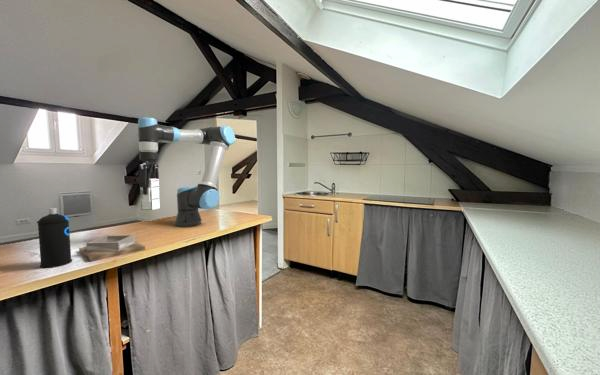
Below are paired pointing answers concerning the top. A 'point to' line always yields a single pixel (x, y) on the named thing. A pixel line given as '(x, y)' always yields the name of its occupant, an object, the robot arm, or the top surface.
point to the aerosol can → (54, 240)
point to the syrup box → (151, 196)
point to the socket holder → (110, 247)
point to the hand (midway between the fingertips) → (150, 200)
